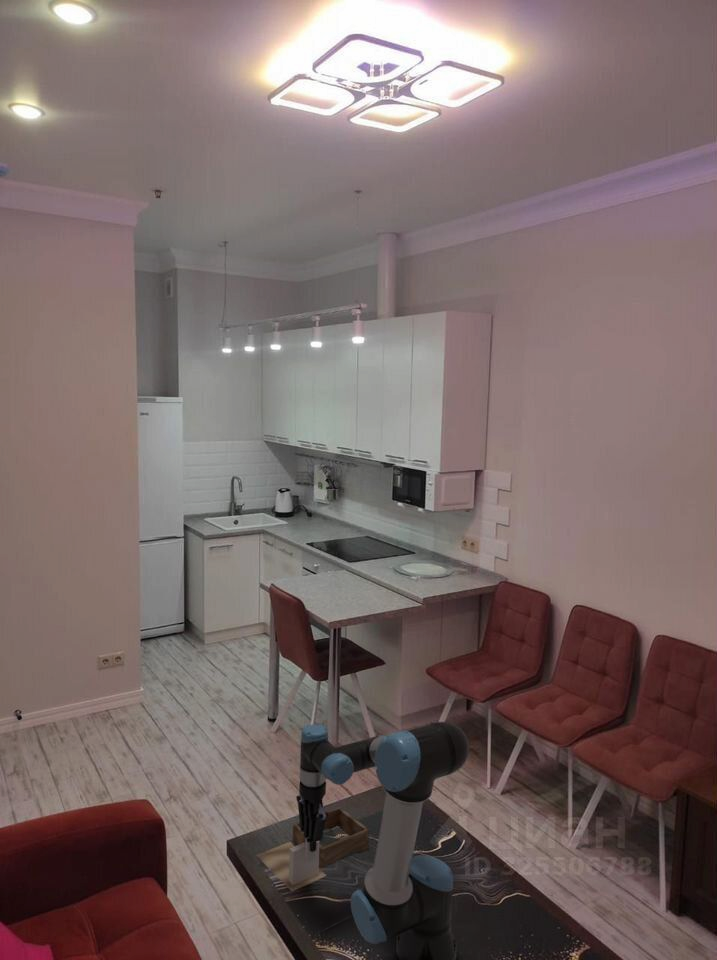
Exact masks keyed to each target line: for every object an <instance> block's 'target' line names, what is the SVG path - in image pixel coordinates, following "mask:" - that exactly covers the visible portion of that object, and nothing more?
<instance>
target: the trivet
mask: <svg viewBox="0 0 717 960" xmlns="http://www.w3.org/2000/svg"><path fill="white" fill-rule="evenodd" d="M295 846H296V845H294V844H293V843H292V842H291V841H288V842H286V843H283V844H281V845H279V846H278V845H277V846H276V847H273V848H271V849H269V850H265V851H263V852H261V853H259V854H256V856H257V858H259V860H260V861H262V863H264V865H265V866H266V867H267V868H268V869H269V870H270V871H271V872H272V873H273V874H274V875H275V876H276V877H277V878H278V879H279V880H280V882H282V883H283V885H285V886H286V888H288V889H289V890H290V891H291V892H294V891H296V890H298V889H299V890H300V888H303V887H305V886H307V885H310V884H312V883H314V882H316V881H318V880H321V879H322V878H324V877H327V874H326V873H325V872H324V871H323V870H321V869H320V868H319V874H317V875H315V876H313V877H310V878H308V879H306V880H304V881H301V882H299V883H297V884H295V885H291V884H290V882H289V856H290V848H292V847H295Z"/></svg>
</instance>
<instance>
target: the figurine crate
mask: <svg viewBox="0 0 717 960" xmlns="http://www.w3.org/2000/svg"><path fill="white" fill-rule="evenodd" d="M326 812H327V813H328V817H327V818H326V821H325V826H324V831H326V830H329V831H330V829H332V828H334V827H336V826H339V827H340V828H341V829H342V830H343V831H345V832H346V833H347V834H348V836H344V837H342V838H339V840H337V841H334V842H331V843H330V844H327V845H325V846H323V845H321V844H319V867H320V868H324V867H326V866H328V865H330V864H332V863H335V862H337V861H339V860H342V859H344V858H346V857H349V856H350V855H353V854H355V853H357V854H359V853H361V852H364V851H366V850H368V849H370V848H369V847H370V829H369V828H368V827H366V826H365V825H364V824H363V823H361V822H360V821H359V820H357V819H356V818H355V817H353V816H352V815H351V814H349V813H348V812H347V811H346V810H344V809H343V808H342V807H341V806H337V807H335V808H332V809H329V810H326ZM340 832H341V831H340ZM337 833H339V832H337ZM337 833H335V834H337ZM335 834H334V835H335ZM341 835H342V834H341ZM339 836H340V835H339ZM292 842H293V843H294V844H295V845H296V846H297V845H300V844H302V843H305V837H304V832H301V830H300V821H297V822H296V823H293V825H292Z"/></svg>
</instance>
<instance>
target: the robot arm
mask: <svg viewBox="0 0 717 960" xmlns="http://www.w3.org/2000/svg"><path fill="white" fill-rule="evenodd" d="M300 738H301V739H300V742H299V743H300V757H299V758H300V759H299V762H300V764H299V784H298V785H299V791H298V794H299V795H297V796H296V798H295V799H296V801H297V806H298V809H297V810H298V817H299V822H300V830H301V832H304V837H305V861H306V862H307V863H308V862H310V861H313V860H315V856H316V844H317V841H322V839H323V838H322V836H324V831H325V830H324V826H325V821H326V818H327V817H328V813H327V811H325V809H324V808H323V807H324V803H323V798H324V797H325V795H326V792H327V791H326V790H327V782H326V781H327V780H328V781H329V782H331V783H332V784H335V785H344V784H346V783H347V782H348V781H349V780H350V779H351V778H352V777H353V774H354V773H357V772H360V771H363V770H369V769H371V768H376V770H375V773H376V777H377V779H378V781H379V783H380V785H381V786H382V788H383V790H384V791H385V799H384V803H383V804H384V805H383V808H382V809H383V810H382V811H383V812H382V816H381V823H380V827H379V834H378V838H377V845H376V849H375V855H374V861H373V867H371V868H369V869H368V871H367V872H366V874H365V875H364V876H365V877H364V881H363V886H362V888H360V889H359V888H358V889H356V891H354V892H353V893H352V894H351V896H350V909H351V913H352V914H351V915H352V917H353V920H354V923H355V925H356V928H357V930H358V932H359V933H360V935H361V936H362V938H363V939H364V940H365V941H366V942H367V943H369V944H371V945H377V944H381V942H382V943H384V942H387V941H388V940H390V939H392V938H394V937H396V936H397V937H396V944H395V945H396V948H395V949H396V954H397V958H398V960H457V943H456V939H455V936H454V931H453V928H452V908H453V892H454V877H453V876H454V875H453V873H452V870H451V867H449V865H448V864H447V863H446V862H444V861H443V860H441V859H439V858H437V857H434V856H430V855H425V854H424V855H422V854H420V855H415V856H414V850H415V845H416V841H417V834H418V831H419V830H418V829H419V827H420V826H419V825H420V819H421V815H422V810H423V805H424V804H423V803H424V802H426V801H428V800H429V798H430V797H431V796H432V794H433V788H434V783H435V780H437V779H440V778H443V777H447V776H449V775H452V774H454V773H456V772H457V771H459V770H460V769H461V768H462V767H463V766H464V765H465V763H466V761H467V759H468V756H469V751H470V745H469V741H468V738H467V734H465V732H464V731H463V730H462V728H461V727H460V726H458V725H457V724H456V723H452V722H448V721H436V722H432V723H430V724H425V725H420V726H417V727H415V728H411V729H407V730H398V731H396V732H393V733H392V734H389V735H376V736H372V737H369V738H366V739H361V740H359V741H355V742H349V743H346V744H343V745H338V746H334V744H332V743H331V742H330V741H329V740H328V739H329V731H328V728H327V727H326V726H323V725H321V724H309V725H307V726H305V727H303V729H302V730H301V737H300ZM323 809H324V810H323Z"/></svg>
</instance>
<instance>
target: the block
mask: <svg viewBox="0 0 717 960" xmlns="http://www.w3.org/2000/svg"><path fill="white" fill-rule="evenodd" d="M320 841H321V840H320ZM320 841H317V844H316V856H315V860H313V861H310V862H308V863H307V862H306V861H305V843H302V844H300V845H297V844H296V845H294V846H295V847H292V848H290V856H289V882H290V884H291V885H295V884H297V883H299V882H301V881H304V880H306V879H308V878H310V877H313V876H315V875H317V874H319V869H320V865H319V844H320ZM320 845H321V844H320Z"/></svg>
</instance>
